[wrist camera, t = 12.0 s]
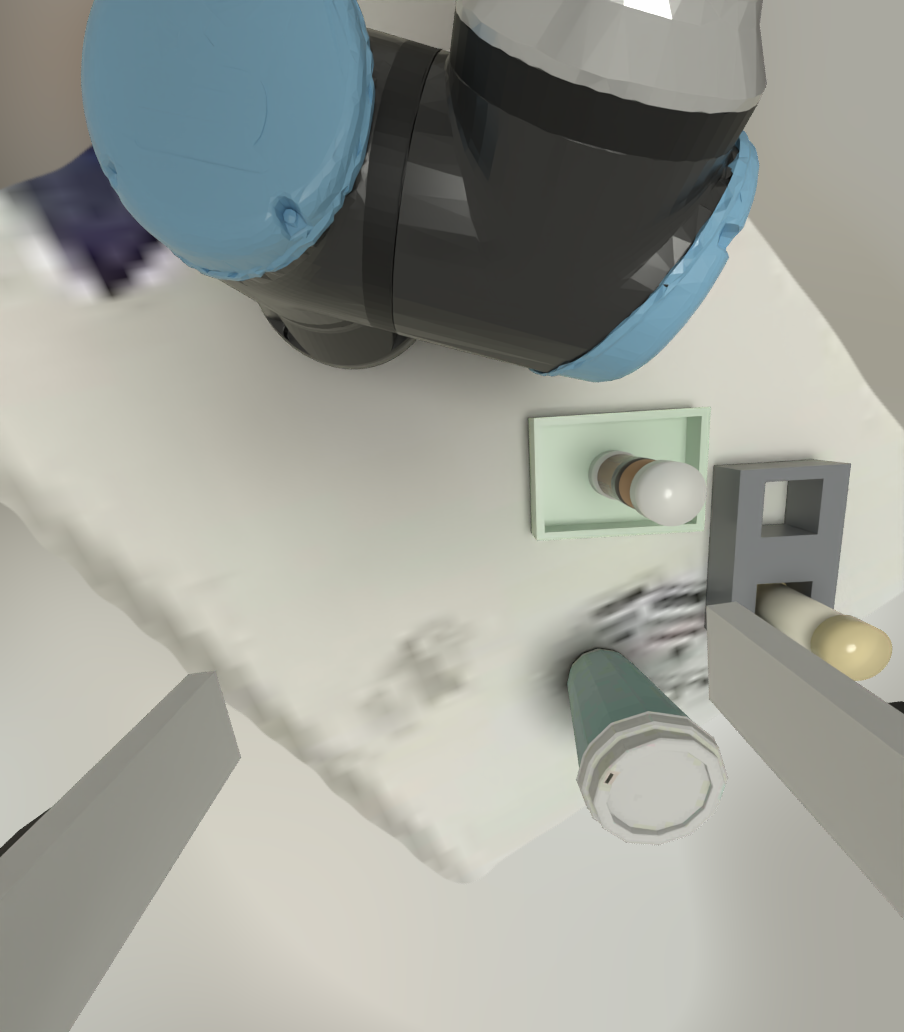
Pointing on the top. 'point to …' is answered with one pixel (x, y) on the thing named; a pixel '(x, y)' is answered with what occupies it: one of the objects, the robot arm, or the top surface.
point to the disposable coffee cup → (640, 753)
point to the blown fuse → (650, 486)
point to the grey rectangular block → (776, 531)
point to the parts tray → (579, 440)
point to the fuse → (825, 631)
